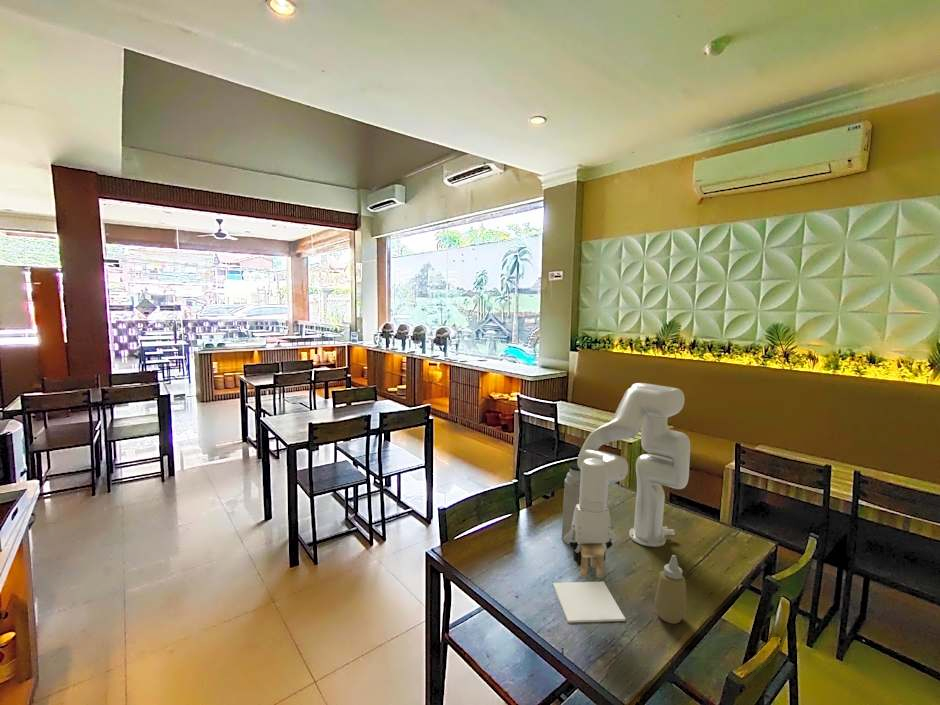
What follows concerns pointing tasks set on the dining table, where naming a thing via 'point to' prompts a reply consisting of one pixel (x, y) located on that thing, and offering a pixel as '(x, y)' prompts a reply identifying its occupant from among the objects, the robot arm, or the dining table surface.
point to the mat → (587, 602)
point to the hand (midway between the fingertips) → (589, 562)
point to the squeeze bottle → (671, 593)
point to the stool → (596, 558)
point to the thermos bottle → (570, 498)
